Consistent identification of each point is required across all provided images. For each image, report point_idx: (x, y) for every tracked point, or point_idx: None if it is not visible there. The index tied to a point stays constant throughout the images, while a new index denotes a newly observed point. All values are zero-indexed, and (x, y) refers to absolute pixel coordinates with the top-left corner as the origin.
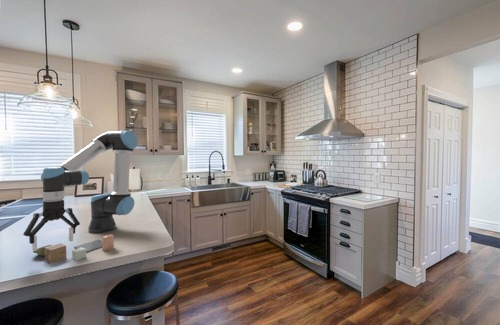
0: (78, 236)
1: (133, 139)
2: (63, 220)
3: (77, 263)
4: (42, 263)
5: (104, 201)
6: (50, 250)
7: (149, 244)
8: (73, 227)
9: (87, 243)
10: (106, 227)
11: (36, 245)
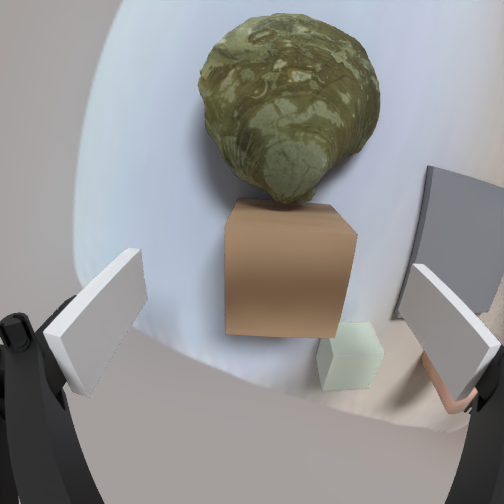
0: (494, 12)
1: None
2: (486, 485)
3: (296, 385)
4: (208, 245)
5: None
6: (227, 332)
7: None
8: (480, 386)
9: (483, 194)
10: None
11: (127, 325)
